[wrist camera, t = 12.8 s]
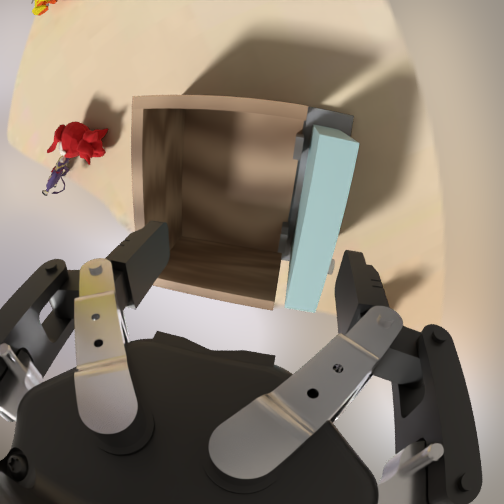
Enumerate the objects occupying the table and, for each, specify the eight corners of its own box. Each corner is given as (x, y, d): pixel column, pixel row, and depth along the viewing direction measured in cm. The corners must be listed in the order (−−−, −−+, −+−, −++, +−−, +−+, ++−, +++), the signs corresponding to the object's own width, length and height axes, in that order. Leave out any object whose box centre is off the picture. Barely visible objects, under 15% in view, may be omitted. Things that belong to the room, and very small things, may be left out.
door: (312, 124, 29) (319, 134, 19) (349, 131, 29) (374, 147, 18) (290, 247, 37) (284, 307, 27) (322, 253, 37) (326, 314, 26)
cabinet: (181, 95, 30) (132, 96, 21) (353, 115, 28) (378, 121, 19) (177, 238, 40) (141, 282, 31) (321, 263, 38) (324, 319, 29)
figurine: (47, 170, 37) (85, 99, 31) (79, 198, 41) (123, 132, 35) (25, 187, 32) (61, 109, 26) (61, 219, 36) (104, 146, 30)
